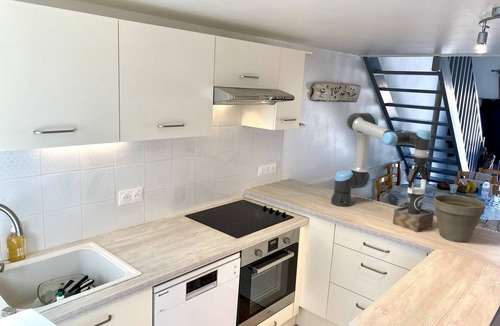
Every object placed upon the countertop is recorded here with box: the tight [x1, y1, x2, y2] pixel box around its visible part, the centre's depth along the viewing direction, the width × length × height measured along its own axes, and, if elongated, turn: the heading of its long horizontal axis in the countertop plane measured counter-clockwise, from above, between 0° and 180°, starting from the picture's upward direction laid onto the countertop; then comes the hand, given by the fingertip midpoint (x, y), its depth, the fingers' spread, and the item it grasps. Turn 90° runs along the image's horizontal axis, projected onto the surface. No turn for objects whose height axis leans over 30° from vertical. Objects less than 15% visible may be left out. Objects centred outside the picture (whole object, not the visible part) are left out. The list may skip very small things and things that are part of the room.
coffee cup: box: [407, 186, 426, 215], centre depth 215 cm, size 10×10×15 cm
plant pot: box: [432, 194, 487, 243], centre depth 200 cm, size 25×25×22 cm
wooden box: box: [392, 205, 435, 233], centre depth 218 cm, size 16×16×9 cm
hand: (416, 191), depth 214 cm, fingers open, 13 cm apart
